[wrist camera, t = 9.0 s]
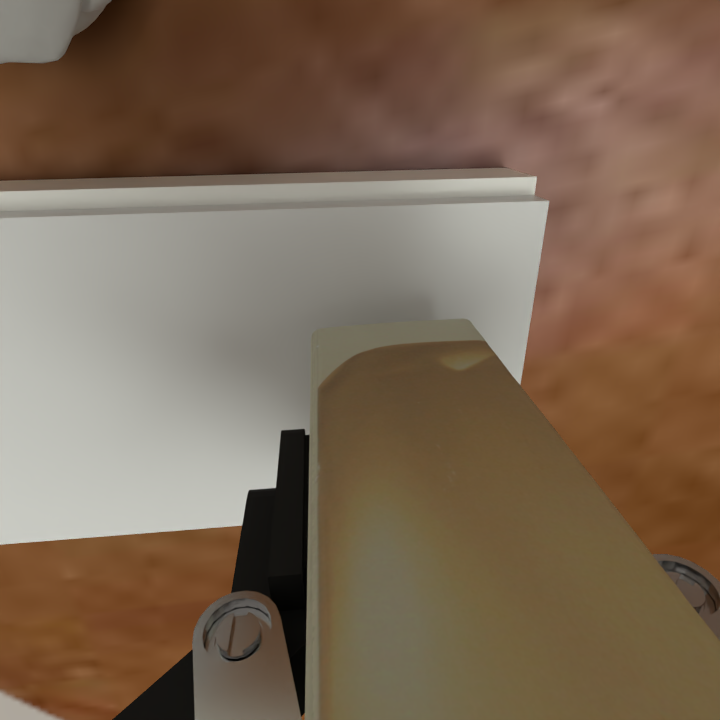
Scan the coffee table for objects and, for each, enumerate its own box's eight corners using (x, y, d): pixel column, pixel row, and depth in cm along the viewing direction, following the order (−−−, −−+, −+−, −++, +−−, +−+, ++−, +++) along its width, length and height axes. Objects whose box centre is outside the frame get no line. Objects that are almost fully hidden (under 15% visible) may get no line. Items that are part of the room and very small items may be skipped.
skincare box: (461, 490, 16) (799, 1349, 5) (326, 504, 15) (362, 1441, 5) (473, 302, 13) (1424, 1440, 2) (305, 316, 12) (271, 1720, 2)
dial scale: (-232, 186, 14) (-472, 220, 10) (505, 167, 16) (579, 189, 12) (-64, 494, 20) (-171, 604, 15) (472, 456, 22) (514, 546, 17)
